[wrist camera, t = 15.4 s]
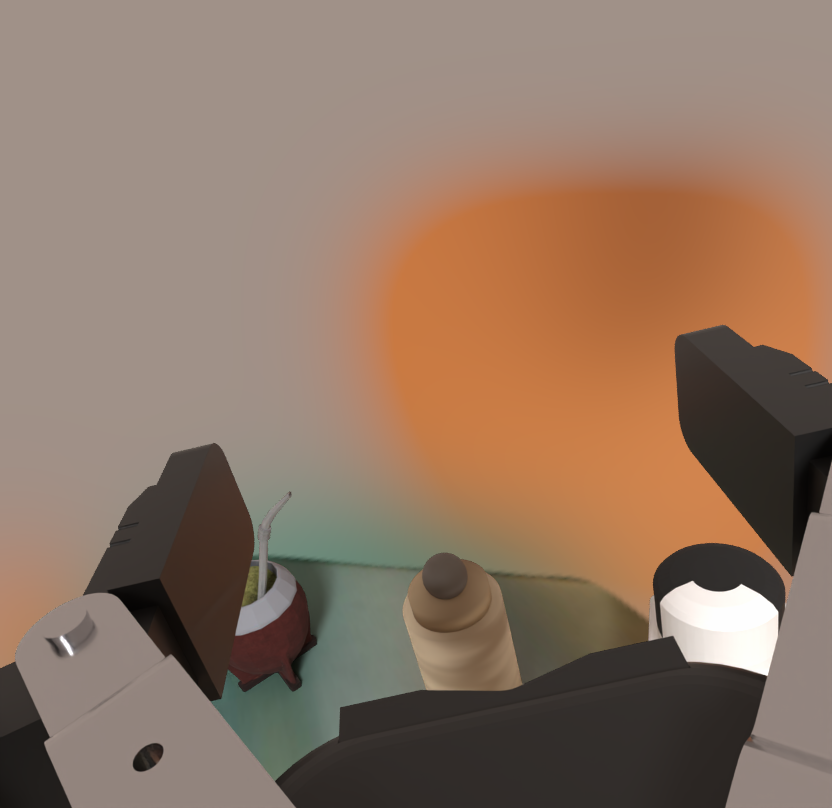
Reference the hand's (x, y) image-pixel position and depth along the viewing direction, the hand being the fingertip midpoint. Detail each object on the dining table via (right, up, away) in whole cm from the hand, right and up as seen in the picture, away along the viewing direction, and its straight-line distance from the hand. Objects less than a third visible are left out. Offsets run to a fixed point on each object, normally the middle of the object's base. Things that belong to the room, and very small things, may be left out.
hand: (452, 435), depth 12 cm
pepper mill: (+4, -20, +28) cm, 35 cm away
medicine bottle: (+17, -18, +28) cm, 37 cm away
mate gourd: (-10, -19, +40) cm, 46 cm away
